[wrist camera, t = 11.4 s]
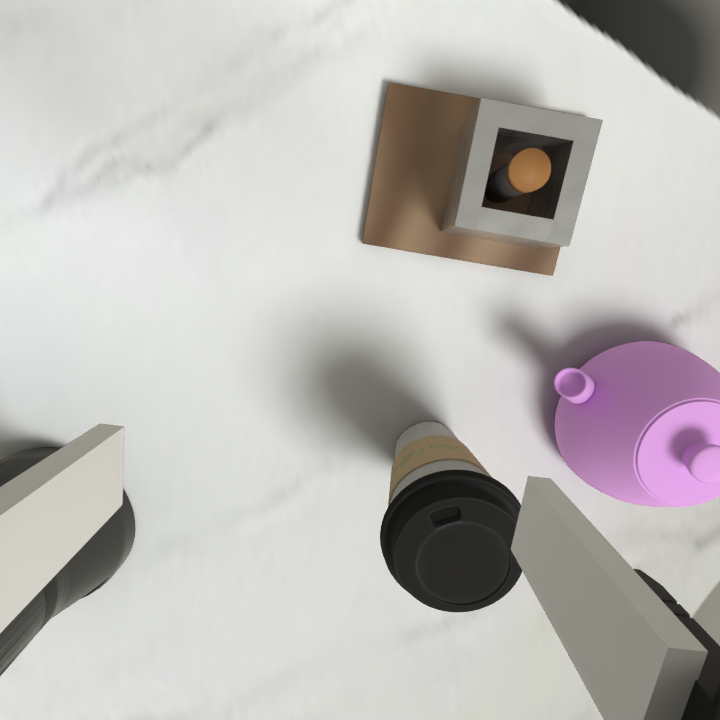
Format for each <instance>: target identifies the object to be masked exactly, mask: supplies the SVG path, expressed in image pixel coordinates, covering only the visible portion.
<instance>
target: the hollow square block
mask: <svg viewBox="0 0 720 720" xmlns="http://www.w3.org/2000/svg"><path fill="white" fill-rule="evenodd" d="M602 121H603V120H600V119H595V118H589V117H584V116H578V115H573V114H567V113H562V112H556V111H551V110H545V109H540V108H534V107H529V106H523V105H518V104H512V103H507V102H501V101H496V100H490V99H485V98H481V99H480V101H479V102H478V103H477V105H476V106H475V108H474V109H473V110H472V112H471V113H470V115H469V116H468V118H467V119H466V120H465V122H464V123H463V125H462V127H461V132H460V137H459V142H458V147H457V152H456V157H455V162H454V167H453V172H452V177H451V182H450V187H449V192H448V197H447V202H446V207H445V212H444V217H443V222H442V227H441V232H446V233H452V234H458V235H463V236H469V237H475V238H481V239H486V240H492V241H498V242H503V243H509V244H515V245H521V246H526V247H532V248H548V247H563V246H569V245H570V241H571V238H572V234H573V230H574V226H575V223H576V219H577V215H578V211H579V208H580V204H581V200H582V196H583V193H584V189H585V185H586V181H587V178H588V174H589V170H590V166H591V162H592V159H593V155H594V151H595V147H596V144H597V140H598V136H599V132H600V129H601V125H602ZM528 148H537V149H540V150H542V151H543V152H545V153H546V155H547V156H548V157H549V159H550V163H551V173H550V176H549V178H548V180H547V182H546V183H545V184H544V185H543V186H542V187H541V188H539V189H537V190H535V191H532V192H531V196H530V200H529V204H528V208H527V212H526V215H524V214H518V213H513V212H507V211H501V210H496V209H490V208H484V207H481V206H482V202H483V197H484V193H485V188H486V183H487V179H488V174H489V170H490V165H491V161H492V156H493V153H498V154H504V155H509V156H515V155H517V154H518V153H519V152H521V151H523V150H525V149H528Z"/></svg>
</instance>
